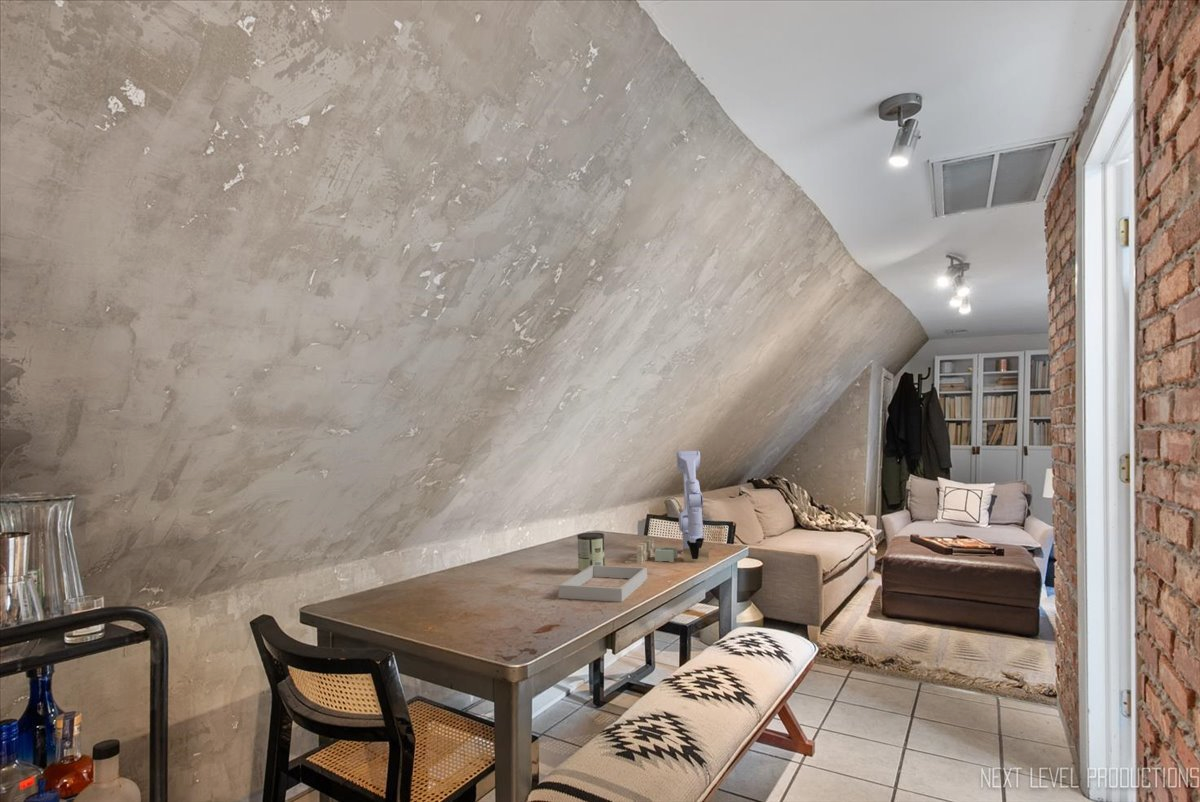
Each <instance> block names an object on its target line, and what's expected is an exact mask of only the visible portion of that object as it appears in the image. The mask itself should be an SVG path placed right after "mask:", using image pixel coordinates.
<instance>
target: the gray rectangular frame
mask: <svg viewBox="0 0 1200 802" xmlns="http://www.w3.org/2000/svg"><path fill="white" fill-rule="evenodd" d="M592 577H593V578H604V577H609V578H608V579H610V578H611V579H623V578H628V580H627V581H626V582H625V583H623V584H622V585H621V586H620V587H609V586H607V587H606V586H592V585H591V586H590V585H584V584H586V583H587V582H588V581H590V580H591V579H593V578H592ZM589 579H590V580H589ZM646 579H647V580H648V567H640V566H639V567H638V566H616V565H605V566H598V565H591V566H589V567H588V568H586V569H584V570H583V571H581V572H580V573H577V574H575V575H573V576H571V577H569V578H568V579H566V580H565V581H563V582H562V583H560V584H558V598H559V599H568V600H569V599H571V600H583V601H584V600H585V601H587V600H588V601H600V602H601V601H602V602H617V603H622V602H624V601H625V600H626V599H627V598H628V597H629V596H630V595H631V594H632V593H634V592H635V591H636V590H637V589H638V588H639V587H640V586H641V585H642V584H644V583H645V582H646V581H647V580H646ZM645 580H646V581H645ZM586 581H587V582H586ZM644 581H645V582H644ZM643 582H644V583H643Z"/></svg>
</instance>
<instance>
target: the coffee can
mask: <svg viewBox="0 0 1200 802" xmlns="http://www.w3.org/2000/svg"><path fill="white" fill-rule="evenodd" d="M576 537H577V560H578V561H577V563H578V571H577V572H579V573H580V572H581V571H583V570H584V569H586V568H588V567H589V566H591V565H598V566H606V564H605V562H606V561H605V534H604V533H602V532H583V533H578V534H576Z"/></svg>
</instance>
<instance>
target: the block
mask: <svg viewBox="0 0 1200 802" xmlns="http://www.w3.org/2000/svg"><path fill="white" fill-rule="evenodd" d="M678 551H679V550H678V546H658V547H657V548H656V549H655V550H654V562H655V561H669V562H668V563H674V562H675V559H674V558H677V559H679V556H678V553H679V552H678Z"/></svg>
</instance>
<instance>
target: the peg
mask: <svg viewBox="0 0 1200 802" xmlns="http://www.w3.org/2000/svg"><path fill="white" fill-rule="evenodd" d="M682 551H683V554H682V555H683V563H709V562H710V554H709V551H710V550H709V547H701V548H699V555H698V559H692V556H691V551H690V548H683V547H682Z"/></svg>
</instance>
